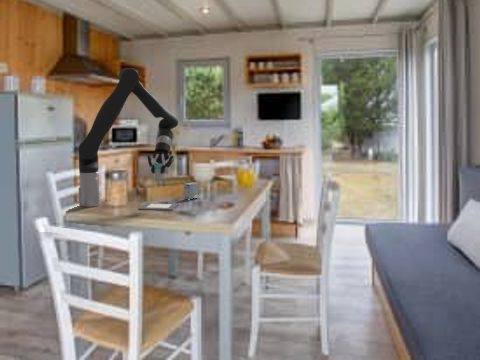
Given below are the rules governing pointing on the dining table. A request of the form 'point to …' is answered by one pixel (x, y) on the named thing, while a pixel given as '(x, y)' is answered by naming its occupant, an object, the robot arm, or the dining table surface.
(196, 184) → the medicine box
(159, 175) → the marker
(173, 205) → the writing mat
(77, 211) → the dining table surface
